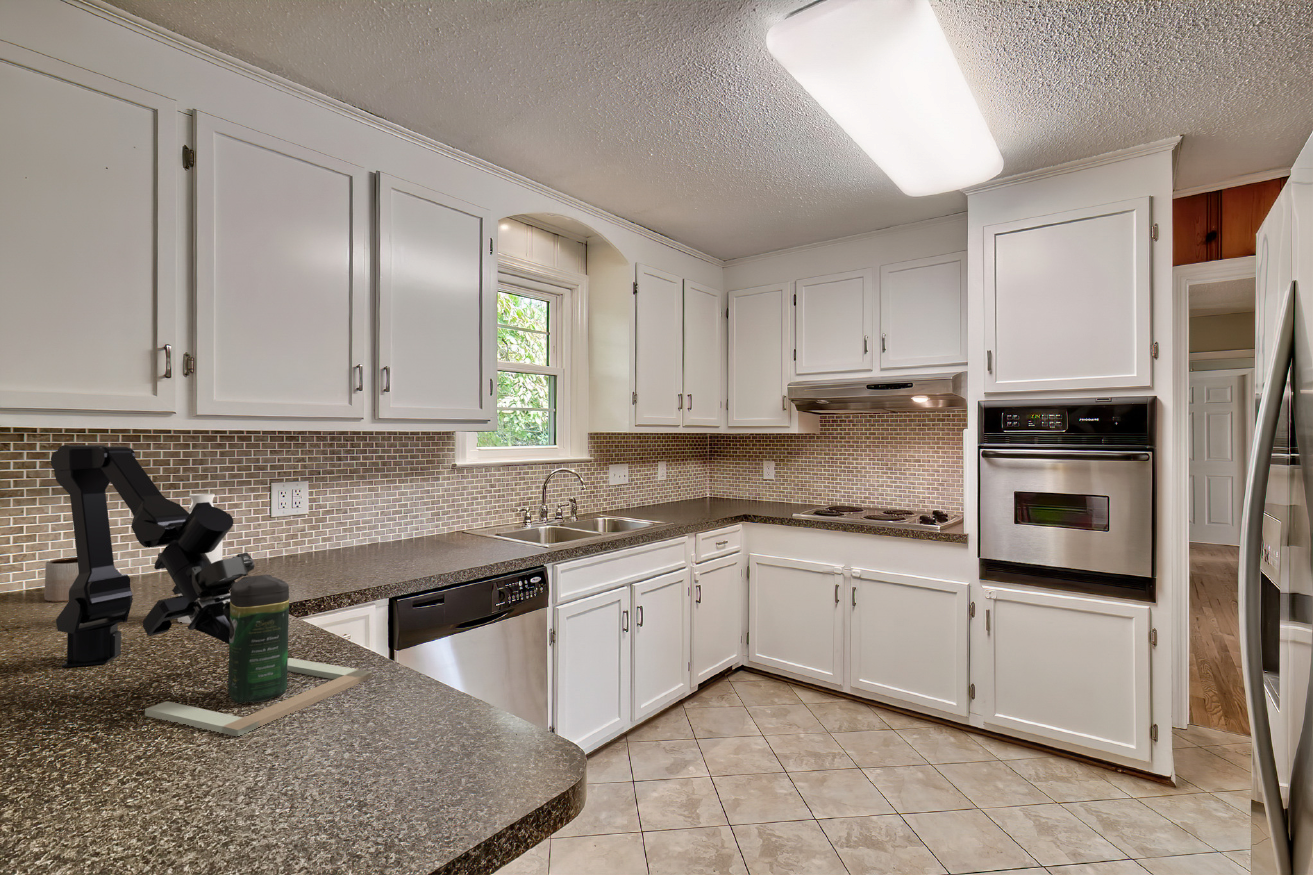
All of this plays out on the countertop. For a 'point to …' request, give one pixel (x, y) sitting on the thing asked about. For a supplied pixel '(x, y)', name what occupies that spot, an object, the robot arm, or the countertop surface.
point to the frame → (240, 725)
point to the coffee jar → (258, 639)
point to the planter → (60, 578)
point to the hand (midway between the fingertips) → (238, 644)
